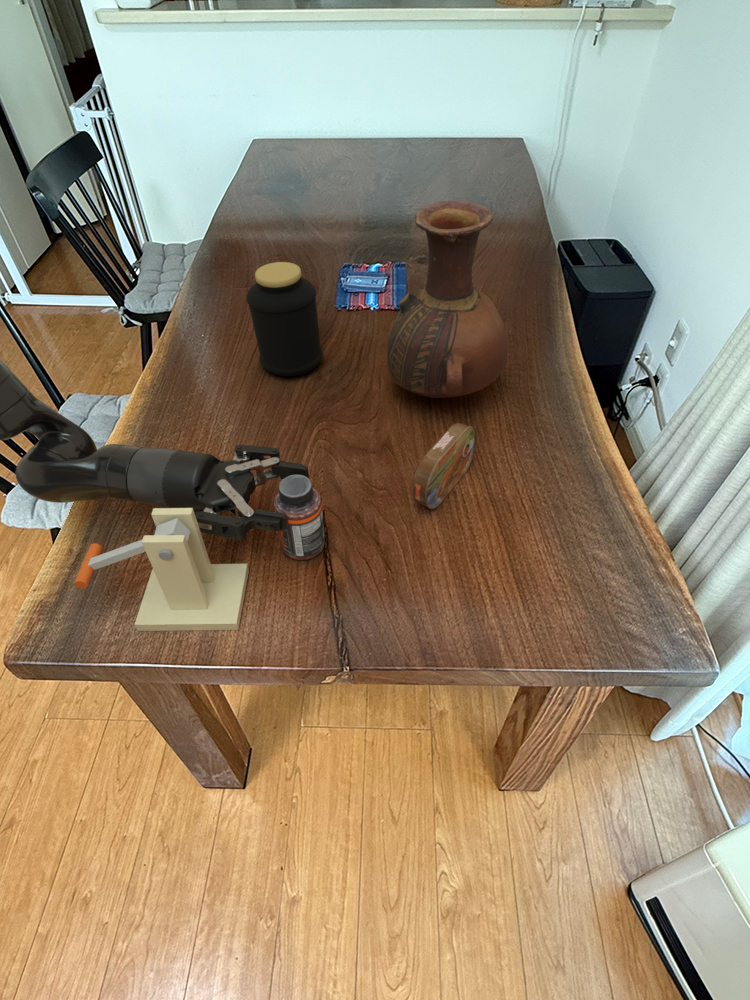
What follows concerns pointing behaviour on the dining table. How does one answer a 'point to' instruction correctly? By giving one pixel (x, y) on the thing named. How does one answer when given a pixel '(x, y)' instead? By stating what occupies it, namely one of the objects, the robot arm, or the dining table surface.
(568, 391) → the dining table surface
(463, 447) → the tin
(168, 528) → the lever handle
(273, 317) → the container
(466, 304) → the vase
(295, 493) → the supplement bottle
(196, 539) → the cream lever stand
